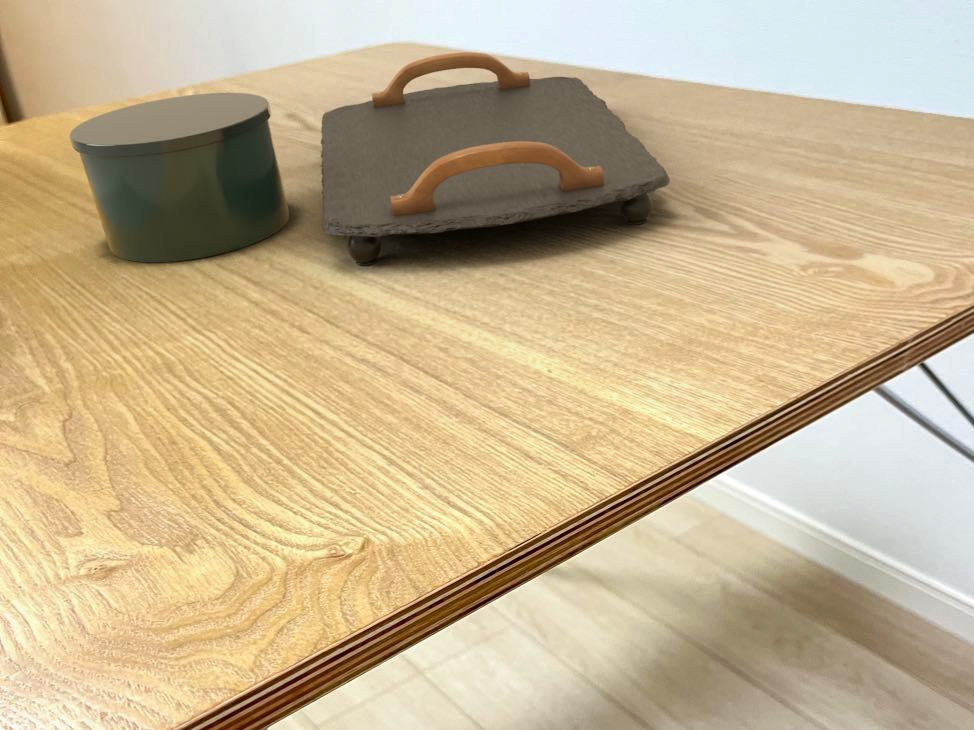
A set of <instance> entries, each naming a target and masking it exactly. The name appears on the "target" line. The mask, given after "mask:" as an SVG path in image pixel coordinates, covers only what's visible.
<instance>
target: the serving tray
mask: <svg viewBox="0 0 974 730" xmlns="http://www.w3.org/2000/svg"><path fill="white" fill-rule="evenodd" d="M459 69H481V70H486V71H489V72H491V73H493V74H494V75H496V81H492V82H491V81H490V82H486V81H485V82H483V81H482V82H473V83H466V84H456V85H450V86H444V87H435V88H429V89H424V90H417V91H413V92H408V93H404V90H405V88H406V86H407V85H408V84H409V83H410V82H412V81H413V80H414V79H417V78H420V77H422V76H426V75H430V74H433V73H437V72H442V71H448V70H459ZM530 77H531V76H530V74H529V72H528V71H523V72H522V71H521V72H515V71H513V70H511V68H509V67H508V66H507V65H506V64H504V63H503V62H502V61H501V60H499V59H498V58H496V57H494V56H492V55H491V54H487V53H483V52H471V51H470V52H467V51H465V52H464V51H463V52H452V53H444V54H437V55H433V56H427V57H424V58H421V59H417V60H415V61H412V62H410V63H408V64H406V65H404V66H403V67H402V68H401V69H400V70H399V71H398V72H397V73H396V74H395V75H394V77H393V78H392V80H391V81H390V82H389V84H388V85H387V86H386V88H385V89H384V90H382V91H377V92H371V98H372V100H368V101H364V102H361V103H357V104H350V105H344V106H339V107H336V108H334V109H332V110H329V111H325V112H324V114H322V117H321V127H320V128H321V131H320V132H321V139H320V145H321V148H322V149H321V152H320V153H321V154H320V158H321V165H320V167H321V176H322V177H321V181H320V183H321V184H322V185H321V186H322V189H321V190H322V191H321V194H322V228H323V230H324V232H325V234H326V235H329V236H341V237H342V236H343V237H344V238H347V237H349V238H348V241H347V251H348V254H349V256H350V257H351V259H352V260H353V261H355V263H356V265H358V266H361V267H363V266H364V267H365V266H371V265H374V264H376V263H377V262H378V260H379V259H378V257H379V256H380V254H381V250H382V244H381V240H380V238H383V237H387V236H397V235H398V236H399V235H417V234H419V235H420V234H437V233H438V234H439V233H445V232H450V231H451V232H452V231H457V230H459V231H460V230H467V229H477V228H478V229H479V228H491V227H492V228H493V227H498V226H504V225H511V224H518V223H525V222H528V221H533V220H538V219H545V218H549V217H554V216H558V215H565V214H571V213H575V212H580V211H584V210H588V209H593V208H597V207H601V206H605V205H608V204H612V203H613V204H614V203H616V202H620V203H619V209H620V214H621V215H622V217H623V218H624V219H625V220H626V223H627V224H628V225H633V226H634V225H635V226H636V225H643V224H646V223H647V222H648V221H649V219H648V218H649V217H650V216H651V214H652V211H653V200H652V197H651V195H650V194H649V193H651V192H655V191H656V190H660V189H662V188H664V187H667V186H668V185H669V184H670V178H669V174H668V173H667V171H666V169H665V168H664V166H662V165H661V164H660V163H659V162H658V161H657V158H656V157H655V156H653V155H652V154H651V153H650V152H649V150H648V149H647V148H646V147H645V145H644V144H643V142H642V141H641V140H640V139H639V138H638V137H636V136H634V135H632V134H631V133H630V132H629V131H628V130H627V128H626V124H625V123H624V121H623V120H621V118H620V117H619V116H618V115H616V114H614V113H613V111H612V110H611V109H609V108H608V105H607V103H606V101H605V100H604V99H603V98H601V97H599V96H597V95H596V94H594V92H593V91H592V90H590V89H589V87H588V85H587V84H585V83H584V82H583V80H582V79H580V78H578V77H576V76H575V77H569V76H550V77H544V78H530Z"/></svg>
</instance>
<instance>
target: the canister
mask: <svg viewBox="0 0 974 730" xmlns="http://www.w3.org/2000/svg"><path fill="white" fill-rule="evenodd" d="M271 117H272V110H271V105H270V102H269V101H268V99H267V98H265V97H263V96H261V95H257V94H254V93H253V94H252V93H245V92H209V93H199V94H189V95H181V96H174V97H168V98H162V99H156V100H151V101H146V102H141V103H137V104H134V105H129V106H125V107H122V108H118V109H113V110H111V111H108V112H105V113H102V114H99V115H97V116H94V117H92V118H89V119H87V120H85V121H84V122H81V123H80V124H78V125H77V126H75V127H74V128H73V129H71V130H70V132H69V140H70V143H71V146H72V148H73V151H75V152H77V153H79V156H80V159H81V163H82V166H83V169H84V172H85V175H86V179H87V181H88V185H89V188H90V192H91V194H92V198H93V201H94V203H95V204H94V205H95V208H96V210H97V213H98V216H99V219H100V222H101V226H102V229H103V232H104V236H105V238H106V242H107V245H108V248H109V250H110V252H111V253H112V254H113V255H114V256H116V257H118V258H120V259H123V260H127V261H132V262H138V263H139V262H141V263H170V262H172V263H173V262H182V261H191V260H196V259H203V258H208V257H212V256H217V255H222V254H225V253H229V252H233V251H236V250H240V249H242V248H245V247H249V246H251V245H253V244H256V243H258V242H261V241H263V240H265V239H267V238H269V237H271V236H273V235H274V234H276V233H277V232H279V231H281V230H282V229H283V228H284V227H285V226H286V224H287V223H288V222H289V220H290V212H289V206H288V202H287V198H286V193H285V190H284V188H285V187H284V184H283V180H282V175H281V170H280V166H279V162H278V161H279V160H278V158H277V153H276V152H277V151H276V149H275V148H276V147H275V144H274V139H273V134H272V131H271V125H270V121H269V120H270V118H271Z"/></svg>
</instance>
